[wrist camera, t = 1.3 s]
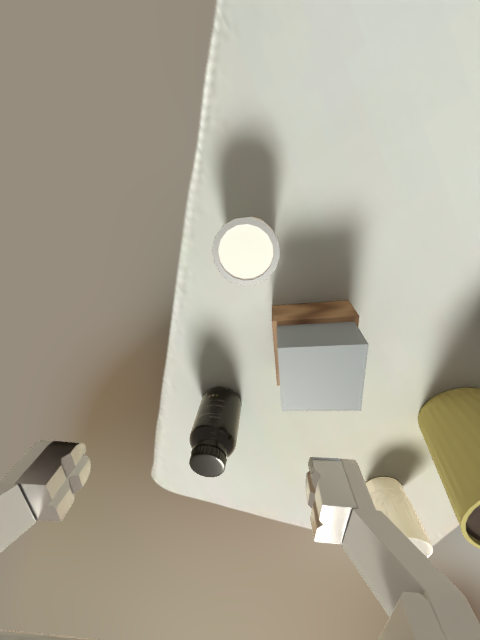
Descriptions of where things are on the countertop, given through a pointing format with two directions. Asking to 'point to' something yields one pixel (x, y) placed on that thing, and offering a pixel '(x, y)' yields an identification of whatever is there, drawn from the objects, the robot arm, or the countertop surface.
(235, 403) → the supplement bottle
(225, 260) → the white piece
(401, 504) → the white cup
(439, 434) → the potted cactus
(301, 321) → the bottom block
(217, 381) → the countertop surface
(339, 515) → the robot arm
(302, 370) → the top block
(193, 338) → the countertop surface
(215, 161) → the countertop surface
